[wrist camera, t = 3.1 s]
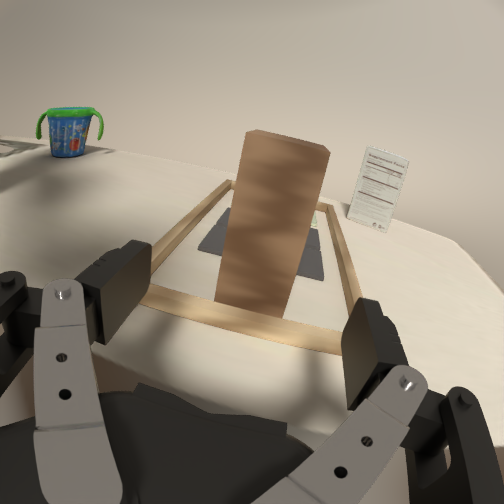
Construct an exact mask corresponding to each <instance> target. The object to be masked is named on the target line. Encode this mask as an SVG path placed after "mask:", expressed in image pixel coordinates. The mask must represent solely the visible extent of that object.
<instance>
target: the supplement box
mask: <svg viewBox="0 0 504 504" xmlns="http://www.w3.org/2000/svg"><path fill="white" fill-rule="evenodd" d="M408 164H409V161H408V160H407V159H406V158H404V157H402V156H399V155H396V154H394V153H391V152H388V151H385V150H382V149H379V148H376V147H373V146H367V148H366V152H365V155H364V159H363V163H362V167H361V170H360V174H359V177H358V180H357V184H356V187H355V191H354V194H353V198H352V201H351V205H350V208H349V211H348V214H347V219H350V220H352V221H355V222H358V223H360V224H363V225H365V226H368V227H371V228H373V229H376V230H378V231H381V232H384V233H386V232H387V230H388V227H389V224H390V221H391V218H392V215H393V212H394V209H395V206H396V203H397V200H398V197H399V194H400V191H401V188H402V185H403V181H404V178H405V175H406V171H407V168H408Z"/></svg>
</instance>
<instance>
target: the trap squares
mask: <svg viewBox="0 0 504 504" xmlns="http://www.w3.org/2000/svg"><path fill="white" fill-rule="evenodd" d="M230 210H231V208H227V209H226V211H225V212H224V213H223V215H222V216H221V217H220V218H219V220H218V221H217V223H216V225H214V226H213V227H212V229H211V230H210V231H209V233H208V234H207V235H206V237H205V238H204V239H203V241H202V242H201V243H200V244H199V246H198V250H201V251H205V252H209V253H213V254H217V255H221V256H222V253H223V248H224V242H225V237H226V231H227V226H228V221H229V215H230ZM319 250H320V241H319V234H318V230H317V229H313V228H310V229H309V233H308V236H307V240H306V243H305V246H304V250H303V253H302V257H301V260H300V263H299V266H298V270H297V273H296V275H300V276H304V277H309V278H313V279H317V280H321V281H323V279H324V272H323V264H322V256H321V251H319Z"/></svg>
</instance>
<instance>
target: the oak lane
mask: <svg viewBox="0 0 504 504" xmlns="http://www.w3.org/2000/svg"><path fill="white" fill-rule="evenodd" d="M235 184H236V181H232V180H228V179H227V180H226V181H225V182H223V183H222V184H221V185H220V186H219V187H218V188H217V189H215V190H214V191H213V192H212V193H211V194H210V195H209V196H207V197H206V198H205V199H204V200H203V201H202V202H201V203H200V204H198V205H197V206H196V207H195V208H194V209H193V210H192V211H191V212H189V213H188V214H187V215H186V216H185V217H184V218H183V219H182V220H181V221H180V222H179V223H177V224H176V225H175V226H174V227H173V228H172V229H171V230H170V231H169V232H168V233H167V234H166V235H164V236H163V237H162V238H161V239H160V240H159V241H158V242H157V243H156V244H155V245H154V246H153V247H152V258H151V275H152V273H153V272H154V271H155V270H156V269H157V268H158V267H159V265H160V264H161V263H162V262H163V261H164V260H165V259H166V258H167V256H168V255H169V254H170V253H171V252H172V251H173V250H174V249H175V248H176V246H177V245H178V244H179V243H180V242H181V241H182V240H183V239H184V238H185V236H186V235H187V234H188V233H189V232H190V231H191V230H192V229H193V228H194V227H195V226H196V225H197V223H198V222H199V221H200V220H201V219H202V218H203V217H204V216H205V215H206V214H207V213H208V212H209V211H210V210H211V208H212V207H213V206H214V205H215V204H216V203H217V202H218V201H219V200H220V199H221V198H222V197H223V196H224V195H225V194H226V193H227V192H228V191H229V190H230V189H233V190H234V189H235ZM315 210H319V211H323V212H325V213H326V216H327V220H328V224H329V228H330V232H331V236H332V240H333V245H334V249H335V253H336V257H337V262H338V266H339V270H340V275H341V280H342V284H343V289H344V294H345V298H346V303H347V308H348V313H349V317H350V314H351V312H352V310H353V308H354V305H355V303H356V301H357V299H358V298H359V297H362V298H363V296H362V293H361V289H360V286H359V283H358V279H357V276H356V273H355V270H354V267H353V263H352V260H351V257H350V254H349V251H348V248H347V245H346V242H345V239H344V236H343V233H342V230H341V227H340V225H339V222H338V219H337V216H336V213H335V211H334V208H333V205H329V204H326V203H322V202H318V201H317V205H316V208H315ZM139 304H142V305H145V306H148V307H151V308H155V309H158V310H161V311H164V312H168V313H171V314H174V315H177V316H181V317H184V318H188V319H191V320H195V321H198V322H202V323H205V324H209V325H212V326H216V327H220V328H223V329H227V330H231V331H235V332H239V333H242V334H246V335H250V336H254V337H258V338H263V339H267V340H271V341H275V342H280V343H284V344H288V345H293V346H297V347H302V348H307V349H311V350H316V351H321V352H326V353H331V354H336V355H341V356H342V351H341V337H342V333H343V332H339V331H334V330H329V329H325V328H320V327H316V326H311V325H307V324H302V323H298V322H294V321H289V320H285V319H281V318H277V317H273V316H268V315H264V314H260V313H256V312H252V311H248V310H244V309H241V308H237V307H233V306H229V305H225V304H221V303H218V302H214V301H210V300H207V299H203V298H199V297H196V296H192V295H189V294H185V293H182V292H178V291H175V290H171V289H168V288H164V287H161V286H158V285H154V284H151V283H150V285H149V288H148V291H147V293H146V294H145V296H144V297H143V298H142V299H141V301H140V302H139Z"/></svg>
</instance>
